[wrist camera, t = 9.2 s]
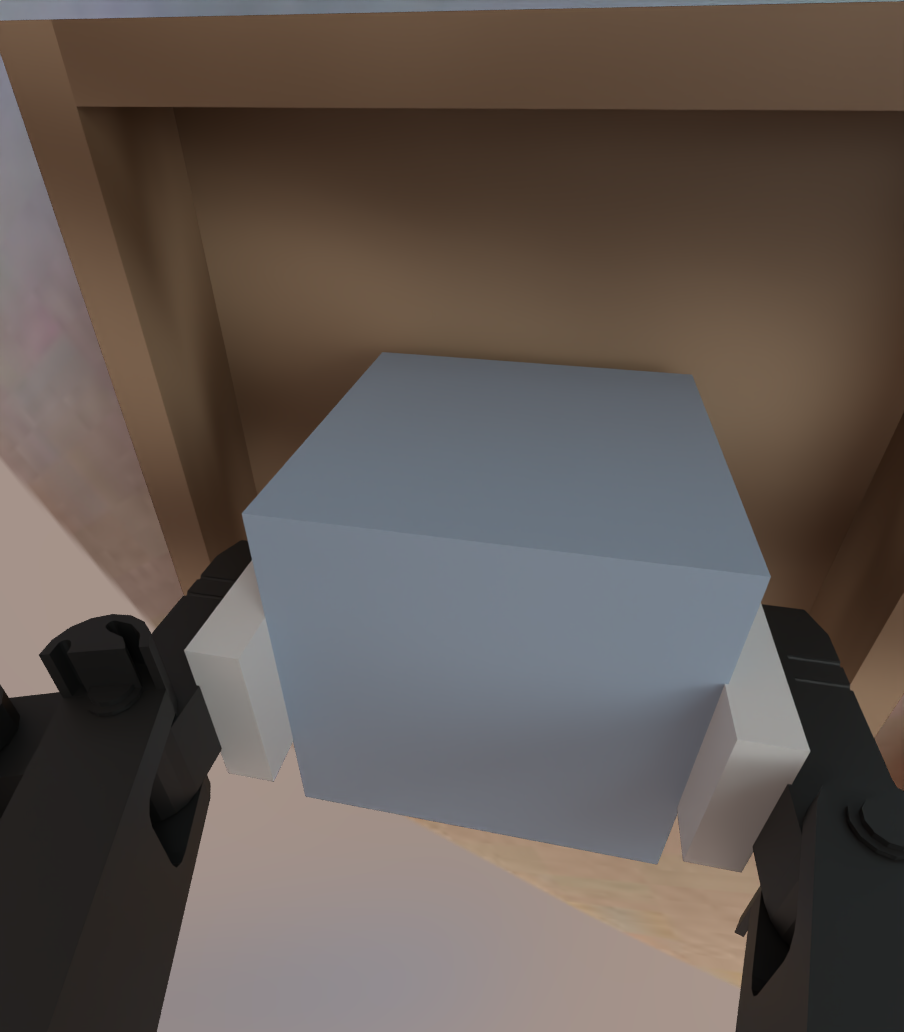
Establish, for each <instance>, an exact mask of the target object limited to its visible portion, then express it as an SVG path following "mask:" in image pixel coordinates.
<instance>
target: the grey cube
mask: <svg viewBox="0 0 904 1032" xmlns="http://www.w3.org/2000/svg"><path fill="white" fill-rule="evenodd" d="M242 517H243V522H244V526H245V531H246V535H247V539H248V544H249V548H250V553H251V557H252V562H253V566H254V570H255V575H256V579H257V584H258V588H259V593H260V597H261V601H262V606H263V610H264V615H265V619H266V623H267V627H268V632H269V636H270V640H271V645H272V649H273V654H274V658H275V662H276V667H277V671H278V675H279V680H280V684H281V688H282V693H283V697H284V701H285V706H286V710H287V715H288V719H289V723H290V728H291V732H292V736H293V743H294V748H295V752H296V756H297V761H298V765H299V770H300V774H301V778H302V783H303V787H304V792H305V796H306V797H311V798H316V799H321V800H327V801H332V802H337V803H342V804H347V805H352V806H358V807H363V808H368V809H373V810H379V811H384V812H388V813H394V814H399V815H404V816H409V817H414V818H419V819H425V820H430V821H435V822H440V823H445V824H450V825H456V826H461V827H466V828H471V829H476V830H481V831H487V832H492V833H497V834H502V835H507V836H512V837H518V838H523V839H528V840H533V841H538V842H544V843H549V844H554V845H559V846H564V847H569V848H575V849H580V850H585V851H590V852H595V853H600V854H606V855H611V856H616V857H621V858H626V859H631V860H637V861H642V862H647V863H652V864H658V861H659V859H660V856H661V854H662V851H663V849H664V846H665V844H666V841H667V839H668V836H669V834H670V831H671V829H672V826H673V823H674V821H675V818H676V816H677V807H678V804H679V802H680V799H681V796H682V794H683V791H684V789H685V786H686V783H687V781H688V778H689V776H690V773H691V770H692V768H693V765H694V763H695V760H696V757H697V755H698V752H699V750H700V747H701V745H702V742H703V739H704V737H705V734H706V732H707V729H708V726H709V724H710V721H711V719H712V716H713V713H714V711H715V708H716V706H717V703H718V700H719V698H720V695H721V693H722V690H723V687H724V685H725V684H729V682H730V679H731V677H732V674H733V672H734V669H735V667H736V664H737V661H738V659H739V656H740V654H741V651H742V649H743V646H744V644H745V641H746V639H747V636H748V634H749V631H750V629H751V626H752V624H753V621H754V618H755V616H756V613H757V611H758V608H759V606H760V603H761V601H762V598H763V596H764V593H765V591H766V588H767V586H768V583H769V580H770V578H771V576H770V573H769V571H768V568H767V566H766V563H765V560H764V558H763V555H762V553H761V550H760V548H759V545H758V542H757V540H756V537H755V535H754V532H753V530H752V527H751V524H750V522H749V519H748V517H747V514H746V512H745V509H744V507H743V504H742V501H741V499H740V496H739V494H738V491H737V489H736V486H735V483H734V481H733V478H732V476H731V473H730V471H729V468H728V466H727V463H726V460H725V458H724V455H723V453H722V450H721V448H720V445H719V442H718V440H717V437H716V435H715V432H714V430H713V427H712V424H711V422H710V419H709V417H708V414H707V412H706V409H705V407H704V404H703V401H702V399H701V396H700V394H699V391H698V389H697V386H696V383H695V381H694V378H693V376H692V375H690V374H676V373H662V372H649V371H635V370H621V369H608V368H594V367H580V366H566V365H553V364H539V363H525V362H511V361H498V360H484V359H470V358H457V357H443V356H429V355H415V354H402V353H388V352H382V353H381V354H380V356H379V357H378V358H377V359H376V360H375V361H374V362H373V364H372V365H371V366H370V367H369V368H368V369H367V370H366V372H365V373H364V374H363V375H362V376H361V377H360V378H359V380H358V381H357V382H356V383H355V384H354V385H353V387H352V388H351V389H350V390H349V391H348V392H347V393H346V395H345V396H344V397H343V398H342V399H341V400H340V401H339V403H338V404H337V405H336V406H335V407H334V408H333V409H332V411H331V412H330V413H329V414H328V415H327V416H326V417H325V419H324V420H323V421H322V422H321V423H320V424H319V425H318V427H317V428H316V429H315V430H314V431H313V432H312V433H311V435H310V436H309V437H308V438H307V439H306V440H305V442H304V443H303V444H302V445H301V446H300V447H299V448H298V450H297V451H296V452H295V453H294V454H293V455H292V456H291V458H290V459H289V460H288V461H287V462H286V463H285V464H284V466H283V467H282V468H281V469H280V470H279V471H278V472H277V474H276V475H275V476H274V477H273V478H272V479H271V480H270V482H269V483H268V484H267V485H266V486H265V487H264V488H263V490H262V491H261V492H260V493H259V494H258V495H257V497H256V498H255V499H254V500H253V501H252V502H251V503H250V505H249V506H248V507H247V508H246V509H245V510H244V511H243V513H242Z"/></svg>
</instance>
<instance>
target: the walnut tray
mask: <svg viewBox="0 0 904 1032" xmlns="http://www.w3.org/2000/svg"><path fill="white" fill-rule="evenodd" d="M0 53H1V56H2V59H3V62H4V65H5V68H6V71H7V74H8V77H9V80H10V83H11V86H12V89H13V92H14V95H15V98H16V101H17V104H18V107H19V110H20V112H21V115H22V118H23V121H24V124H25V127H26V130H27V133H28V136H29V139H30V142H31V145H32V148H33V151H34V154H35V157H36V160H37V163H38V166H39V169H40V172H41V174H42V177H43V180H44V183H45V186H46V189H47V192H48V195H49V198H50V201H51V204H52V207H53V210H54V213H55V216H56V219H57V222H58V225H59V228H60V231H61V234H62V236H63V239H64V242H65V245H66V248H67V251H68V254H69V257H70V260H71V263H72V266H73V269H74V272H75V275H76V278H77V281H78V284H79V287H80V290H81V293H82V296H83V298H84V301H85V304H86V307H87V310H88V313H89V316H90V319H91V322H92V325H93V328H94V331H95V334H96V337H97V340H98V343H99V346H100V349H101V352H102V355H103V358H104V360H105V363H106V366H107V369H108V372H109V375H110V378H111V381H112V384H113V387H114V390H115V393H116V396H117V399H118V402H119V405H120V408H121V411H122V414H123V417H124V420H125V423H126V425H127V428H128V431H129V434H130V437H131V440H132V443H133V446H134V449H135V452H136V455H137V458H138V461H139V464H140V467H141V470H142V473H143V476H144V479H145V482H146V485H147V487H148V490H149V493H150V496H151V499H152V502H153V505H154V508H155V511H156V514H157V517H158V520H159V523H160V526H161V529H162V532H163V535H164V538H165V541H166V544H167V547H168V549H169V552H170V555H171V558H172V561H173V564H174V567H175V570H176V573H177V576H178V579H179V582H180V585H181V588H182V591H183V594H184V596H186V595H187V591H188V590H189V588H190V587H191V586H192V585H193V584H194V582H195V581H196V580H197V579H200V577H201V574H202V573H203V572H204V570H205V569H206V568H207V567H208V566H209V564H210V563H211V562H212V561H213V560H214V558H215V557H216V556H217V555H219V554H220V553H222V552H223V551H225V550H226V549H228V548H230V547H231V546H233V545H234V544H236V543H237V542H239V541H240V540H246V541H248V539H247V535H246V531H245V526H244V522H243V517H242V513H243V511H244V510H245V509H246V508H247V507H248V506H249V505H250V503H251V502H252V501H253V500H254V499H255V498H256V497H257V495H258V494H259V493H260V492H261V491H262V490H263V488H264V487H265V486H266V485H267V484H268V483H269V482H270V480H271V479H272V478H273V477H274V476H275V475H276V474H277V472H278V471H279V470H280V469H281V468H282V467H283V466H284V464H285V463H286V462H287V461H288V460H289V459H290V458H291V456H292V455H293V454H294V453H295V452H296V451H297V450H298V448H299V447H300V446H301V445H302V444H303V443H304V442H305V440H306V439H307V438H308V437H309V436H310V435H311V433H312V432H313V431H314V430H315V429H316V428H317V427H318V425H319V424H320V423H321V422H322V421H323V420H324V419H325V417H326V416H327V415H328V414H329V413H330V412H331V411H332V409H333V408H334V407H335V406H336V405H337V404H338V403H339V401H340V400H341V399H342V398H343V397H344V396H345V395H346V393H347V392H348V391H349V390H350V389H351V388H352V387H353V385H354V384H355V383H356V382H357V381H358V380H359V378H360V377H361V376H362V375H363V374H364V373H365V372H366V370H367V369H368V368H369V367H370V366H371V365H372V364H373V362H374V361H375V360H376V359H377V358H378V357H379V356H380V354H381V353H382V352H388V353H402V354H415V355H429V356H443V357H457V358H470V359H484V360H498V361H511V362H525V363H539V364H553V365H566V366H580V367H594V368H608V369H621V370H635V371H649V372H662V373H676V374H690V375H692V376H693V378H694V381H695V383H696V386H697V389H698V391H699V394H700V396H701V399H702V401H703V404H704V407H705V409H706V412H707V414H708V417H709V419H710V422H711V424H712V427H713V430H714V432H715V435H716V437H717V440H718V442H719V445H720V448H721V450H722V453H723V455H724V458H725V460H726V463H727V466H728V468H729V471H730V473H731V476H732V478H733V481H734V483H735V486H736V489H737V491H738V494H739V496H740V499H741V501H742V504H743V507H744V509H745V512H746V514H747V517H748V519H749V522H750V524H751V527H752V530H753V532H754V535H755V537H756V540H757V542H758V545H759V548H760V550H761V553H762V555H763V558H764V560H765V563H766V566H767V568H768V571H769V573H770V576H771V578H770V580H769V583H768V586H767V588H766V591H765V593H764V596H763V598H762V601H761V604H764V605H772V606H780V607H788V608H796V609H803V610H805V611H806V612H807V613H808V614H809V615H810V616H811V617H812V618H813V619H814V620H815V621H816V622H817V623H818V624H819V625H820V626H821V627H822V629H823V630H824V631H825V632H826V633H827V634H828V635H829V637H830V639H831V642H832V644H833V646H834V648H835V651H836V653H837V655H838V657H839V660H840V667H843V669H844V671H845V673H846V676H847V678H848V680H849V683H850V690H852V691H853V692H854V694H855V696H856V698H857V701H858V703H859V705H860V708H861V710H862V712H863V714H864V717H865V719H866V721H867V723H868V726H869V728H870V730H871V733H872V735H873V737H874V738H875V736H876V735H877V733H878V732H879V730H880V729H881V727H882V726H883V724H884V723H885V721H886V720H887V718H888V717H889V715H890V714H891V712H892V711H893V709H894V708H895V706H896V705H897V703H898V702H899V700H900V699H901V697H902V696H903V694H904V1H899V2H852V3H805V4H758V5H712V6H665V7H618V8H572V9H525V10H478V11H431V12H385V13H338V14H291V15H244V16H198V17H151V18H104V19H57V20H11V21H0Z"/></svg>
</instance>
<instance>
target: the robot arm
mask: <svg viewBox="0 0 904 1032" xmlns="http://www.w3.org/2000/svg"><path fill="white" fill-rule="evenodd" d="M39 656H40V658H41V660H42V661H43V663H44V665H45V667H46V668H47V670H48V672H49V674H50V676H51V678H52V679H53V681H54V683H55V685H56V686H57V688H58V690H59V692H57V693H49V694H40V695H31V696H23V697H14V698H8V696H7V694H6V693H5V691H4V690H3V688H2V687H1V685H0V1032H157V1028H158V1023H159V1019H160V1015H161V1010H162V1006H163V1001H164V997H165V993H166V989H167V984H168V980H169V976H170V971H171V967H172V963H173V958H174V954H175V949H176V945H177V941H178V936H179V932H180V927H181V923H182V919H183V915H184V910H185V905H186V902H187V897H188V893H189V888H190V884H191V880H192V875H193V871H194V867H195V862H196V858H197V854H198V849H199V844H200V841H201V836H202V832H203V827H204V823H205V819H206V814H207V810H208V806H209V801H210V781H209V779H208V776H207V773H208V772H209V770H210V768H211V767H212V765H213V763H214V761H215V760H216V758H217V756H218V755H219V753H220V752H221V755H222V757H223V760H224V763H225V766H226V768H227V771H228V773H231V774H236V775H241V776H247V777H252V778H257V779H262V780H267V781H272V782H274V780H275V778H276V776H277V774H278V772H279V769H280V768H281V765H282V763H283V761H284V759H285V757H286V755H287V753H288V751H289V749H290V746H291V744H292V742H293V736H292V732H291V728H290V723H289V719H288V715H287V710H286V706H285V701H284V697H283V693H282V688H281V684H280V680H279V675H278V671H277V667H276V662H275V658H274V654H273V649H272V645H271V640H270V636H269V632H268V627H267V623H266V619H265V615H264V610H263V606H262V601H261V597H260V593H259V588H258V584H257V579H256V575H255V570H254V566H253V562H252V557H251V553H250V548H249V544H248V541H246V540H240V541H239V542H237V543H236V544H234V545H233V546H231V547H230V548H228V549H226V550H225V551H223V552H222V553H220V554H219V555H217V556H216V557H215V558H214V560H213V561H212V562H211V563H210V564H209V566H208V567H207V568H206V569H205V570H204V572H203V573H202V574H201V577H200V579H197V580H196V581H195V582H194V584H193V585H192V586H191V587H190V588H189V590H188V591H187V595H186V596H183V597H182V598H181V599H180V600H179V602H178V603H177V604H176V605H175V606H174V608H173V609H172V610H171V611H170V612H169V614H168V615H167V616H166V617H165V618H164V620H163V621H162V622H161V623H160V624H159V625H158V627H157V628H156V629H155V630H154V631H153V633H152V634H151V632H150V631H149V629H148V627H147V626H146V624H145V622H144V621H142V620H140V619H137V618H135V617H133V616H131V615H117V614H111V615H106V616H101V617H96V618H91V619H89V620H86V621H84V622H82V623H79V624H77V625H74V626H72V627H70V628H69V629H67V630H66V631H64V632H63V633H61V634H60V635H58V636H57V637H55V638H54V639H53V640H51V642H50V643H49V644H48V645H47V646H46V648H45V649H44V650H43V651H42V652H41V653H40V654H39ZM677 813H678V821H679V830H680V839H681V847H682V856H683V861H685V862H690V863H695V864H700V865H705V866H710V867H716V868H721V869H726V870H731V871H736V872H742V871H743V869H744V867H745V865H746V864H747V862H748V860H749V858H750V857H751V855H752V853H753V852H754V856H755V861H756V866H757V871H758V875H759V880H760V887H759V888H758V890H757V892H756V893H755V895H754V897H753V898H752V900H751V901H750V903H749V905H748V906H747V908H746V909H745V911H744V913H743V914H742V916H741V917H740V920H739V923H738V925H737V928H736V930H735V933H737V934H739V935H741V936H743V937H744V935H745V934H746V932H747V931H748V934H747V942H746V950H745V958H744V967H743V975H742V983H741V991H740V1000H739V1007H738V1016H737V1024H736V1032H904V791H903V790H901V789H899V788H897V787H896V785H895V783H894V782H893V780H892V778H891V776H890V774H889V771H888V769H887V767H886V764H885V762H884V760H883V758H882V755H881V753H880V751H879V749H878V746H877V744H876V742H875V739H874V737H873V735H872V733H871V730H870V728H869V726H868V723H867V721H866V719H865V717H864V714H863V712H862V710H861V708H860V705H859V703H858V701H857V698H856V696H855V694H854V692H853V691H852V690H850V683H849V680H848V678H847V676H846V673H845V671H844V669H843V667H840V660H839V657H838V655H837V653H836V651H835V648H834V646H833V644H832V642H831V639H830V637H829V635H828V634H827V633H826V632H825V631H824V630H823V629H822V627H821V626H820V625H819V624H818V623H817V622H816V621H815V620H814V619H813V618H812V617H811V616H810V615H809V614H808V613H807V612H806V611H805V610H803V609H796V608H788V607H780V606H772V605H764V604H761V603H760V606H759V608H758V611H757V613H756V616H755V618H754V621H753V624H752V626H751V629H750V631H749V634H748V636H747V639H746V641H745V644H744V646H743V649H742V651H741V654H740V656H739V659H738V661H737V664H736V667H735V669H734V672H733V674H732V677H731V679H730V682H729V684H725V685H724V687H723V690H722V693H721V695H720V698H719V700H718V703H717V706H716V708H715V711H714V713H713V716H712V719H711V721H710V724H709V726H708V729H707V732H706V734H705V737H704V739H703V742H702V745H701V747H700V750H699V752H698V755H697V757H696V760H695V763H694V765H693V768H692V770H691V773H690V776H689V778H688V781H687V783H686V786H685V789H684V791H683V794H682V796H681V799H680V802H679V804H678V807H677Z"/></svg>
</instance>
